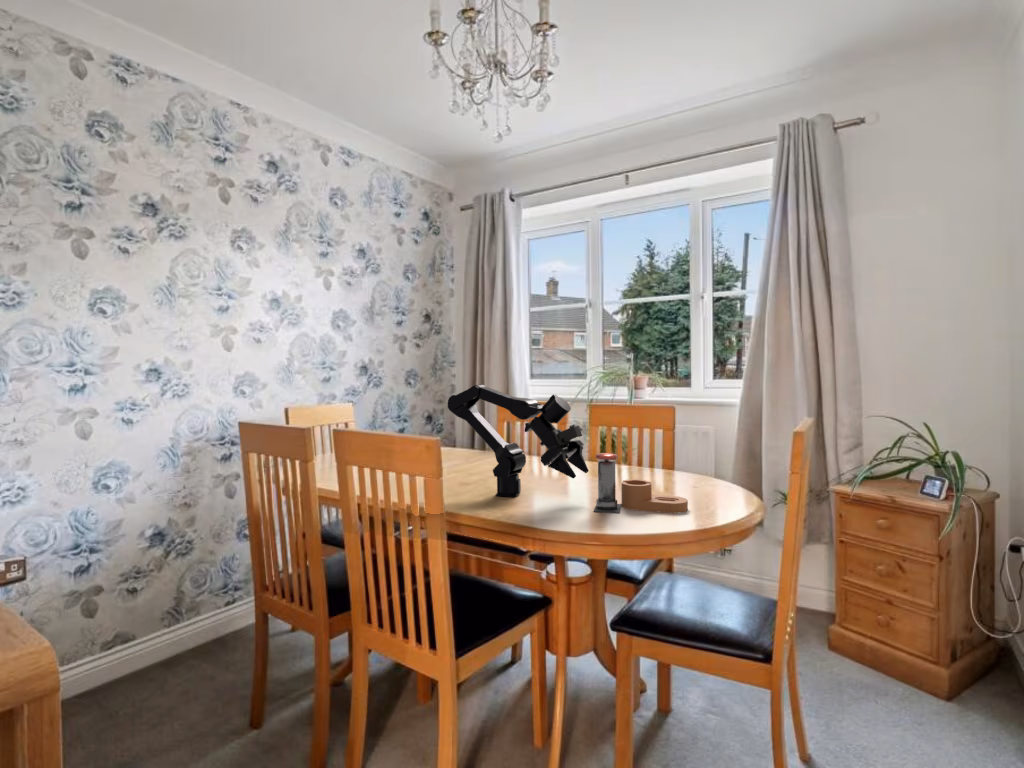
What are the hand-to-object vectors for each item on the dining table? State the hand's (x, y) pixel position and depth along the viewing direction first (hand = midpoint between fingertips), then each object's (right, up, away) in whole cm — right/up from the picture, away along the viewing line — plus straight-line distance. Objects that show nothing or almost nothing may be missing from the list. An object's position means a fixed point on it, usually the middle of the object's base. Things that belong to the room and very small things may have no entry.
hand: (581, 474), depth 162 cm
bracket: (+20, -9, -4) cm, 22 cm away
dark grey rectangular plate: (+7, -9, -4) cm, 12 cm away
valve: (+7, -9, -4) cm, 12 cm away
